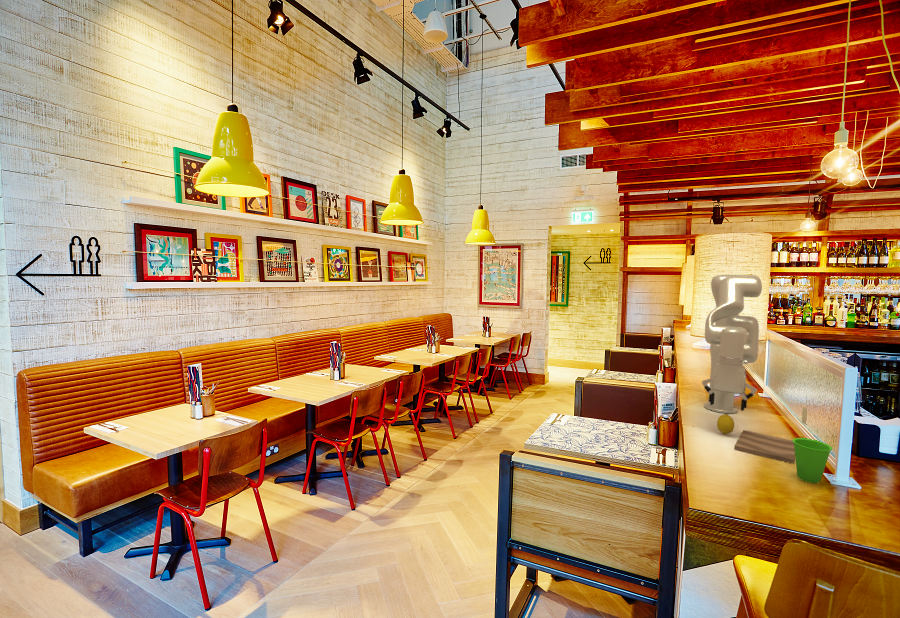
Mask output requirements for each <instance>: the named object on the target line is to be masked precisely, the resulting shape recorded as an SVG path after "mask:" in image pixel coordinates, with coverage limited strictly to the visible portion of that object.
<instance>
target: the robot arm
mask: <svg viewBox="0 0 900 618" xmlns="http://www.w3.org/2000/svg"><path fill="white" fill-rule="evenodd" d="M710 281H711V282H710V286H711V287H710V288H711V293H712V296H713V298H714V301H715V307H714V308H713V310H711V311H710V312H709V314H708V315H707V317H706V319H705V323H704V324H705V325H704V339H705V342H706V343H708V344H709V350H710V351H709V352H710V375H709V377H710V378H708V379H704V380H702V381H701V383H702V384H701V385H702V386H703V387H704V390H705V391H706V392H707V393H708V402H705V403H704V404H703V407H704V408H705V409H707V410H709V411H711V410H712V412H716V413H721V414H736V413H737V412H738V408H737V407H736V406H734V402H735V394H737V395H739V396H740V397H741V398H742V399H741V401H740V403H741V404H740V411H742V412H744V410H745V409H747V405H748V400H749V399H751V398H752V397H753V396H754V395H755V394H756V393H757V391H758V389H757V388H756V387H755V386H752V385H751V384H749V383H747V373H746V366H744V365H748V364H754V363H756V362H757V360H758V357H759V342H760V341H759V337H760V336H759V333H760V326H759V321H758V318H756V317H754V316H748V315H740V314H741V313H742V312H743V311H744V309H745V305H744V304H745V303H744V302H745V299H744V298H758V297H760V295H761V294H762V289H763V283H762V280H761V278H760V277H759V276H758V275H754V274H753V275H752V274H751V275H750V274H719V275H715V276H713V277H712V279H711V280H710ZM714 323H715V324H714ZM708 384H709V385H708ZM746 388H747V389H748V390H749V391H750V393H748V394H746Z"/></svg>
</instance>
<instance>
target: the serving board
mask: <svg viewBox="0 0 900 618" xmlns="http://www.w3.org/2000/svg"><path fill="white" fill-rule="evenodd" d="M792 440H793V439H787V438H783V437H779V436H773V435H769V434H765V433H760V432H755V431H751V430H746V429H742V431H741V433H740V435H739V436H738V439H737V440H736V443H735V444H734V450H735V451H738V452H742V453H747V454H751V455H755V456H759V457H763V458H768V459H770V460H771V459H772V460H774V459H775V460H776V461H779V462H782V461H784V463H787V462H789V463H788V464H791V463H793V464H792V465H794V464H795V463H794V462H795V460H796V459H795V449H794V442H793V441H792Z"/></svg>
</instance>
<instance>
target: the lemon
mask: <svg viewBox="0 0 900 618" xmlns="http://www.w3.org/2000/svg"><path fill="white" fill-rule="evenodd" d="M716 427H717V429H718V431H719V432H721V433H722V434H723V435H727V434H731V433H732V432H733V431H734V429H735V421H734V418H733V417H732V416H731V415H729V413H724V414H721V415H720V416H719V417H718V418H717V421H716Z"/></svg>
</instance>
